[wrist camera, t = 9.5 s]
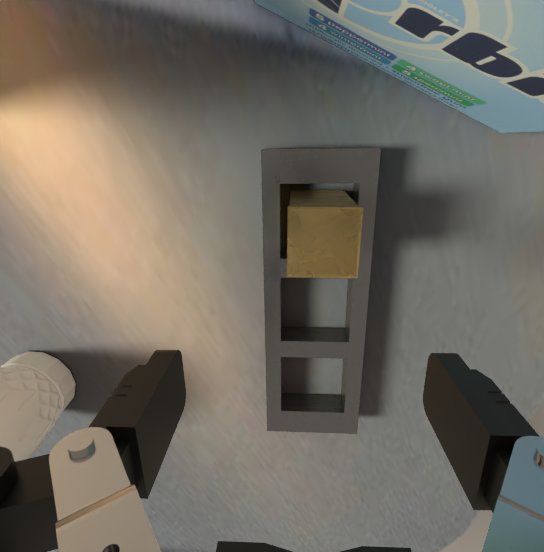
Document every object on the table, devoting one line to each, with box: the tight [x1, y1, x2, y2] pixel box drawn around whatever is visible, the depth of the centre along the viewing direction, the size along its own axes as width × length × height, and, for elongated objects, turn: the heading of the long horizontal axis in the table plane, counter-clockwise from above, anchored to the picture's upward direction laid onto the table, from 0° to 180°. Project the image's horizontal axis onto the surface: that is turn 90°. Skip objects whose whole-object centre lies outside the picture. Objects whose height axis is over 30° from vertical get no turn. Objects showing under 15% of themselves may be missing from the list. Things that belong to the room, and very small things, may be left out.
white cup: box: [0, 351, 76, 462], centre depth 31 cm, size 8×8×10 cm
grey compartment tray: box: [261, 148, 381, 434], centre depth 30 cm, size 24×8×2 cm, turn 1°
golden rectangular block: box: [287, 190, 363, 278], centre depth 25 cm, size 4×4×8 cm
